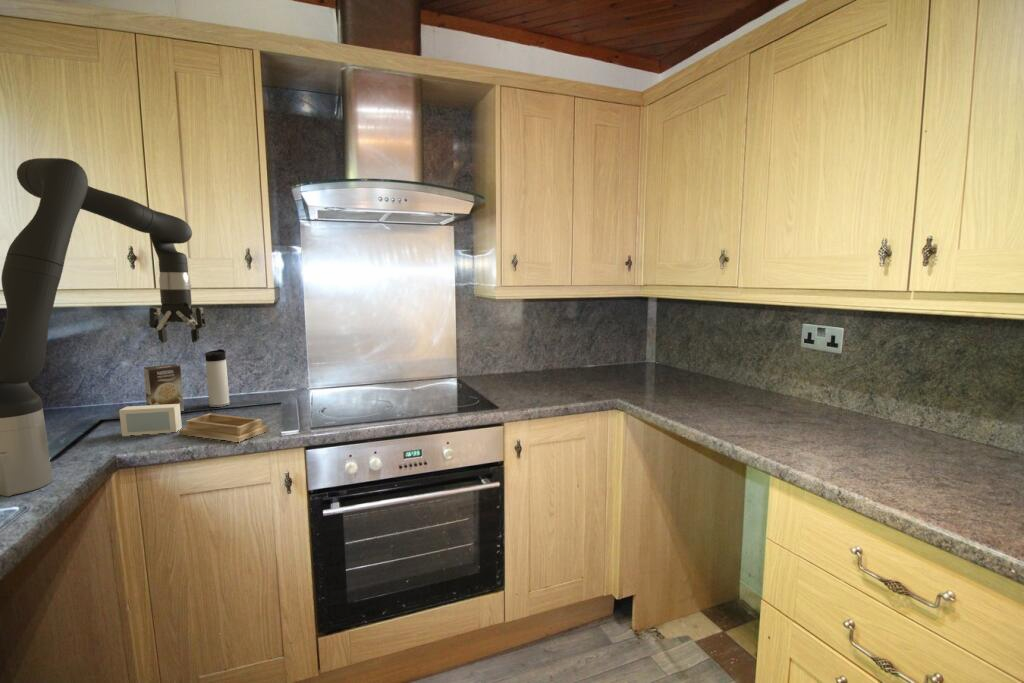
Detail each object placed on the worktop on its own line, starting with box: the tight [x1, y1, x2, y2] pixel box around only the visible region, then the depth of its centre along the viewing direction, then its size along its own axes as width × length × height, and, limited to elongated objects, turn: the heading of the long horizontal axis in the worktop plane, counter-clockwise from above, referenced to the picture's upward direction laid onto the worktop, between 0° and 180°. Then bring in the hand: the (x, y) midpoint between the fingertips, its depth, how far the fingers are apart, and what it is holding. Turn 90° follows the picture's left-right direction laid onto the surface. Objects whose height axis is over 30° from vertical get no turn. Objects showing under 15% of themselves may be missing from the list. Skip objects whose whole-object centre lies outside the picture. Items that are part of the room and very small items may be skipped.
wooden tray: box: [178, 412, 270, 444], centre depth 146 cm, size 11×22×4 cm, turn 73°
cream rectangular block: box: [118, 404, 183, 437], centre depth 146 cm, size 4×14×8 cm, turn 104°
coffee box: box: [143, 363, 185, 413], centre depth 165 cm, size 9×6×16 cm
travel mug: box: [204, 348, 230, 408], centre depth 174 cm, size 6×7×20 cm
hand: (179, 342), depth 147 cm, fingers open, 8 cm apart
